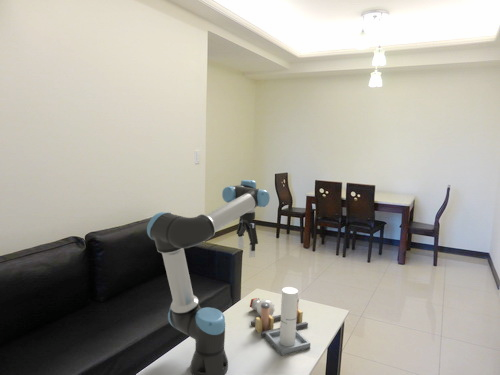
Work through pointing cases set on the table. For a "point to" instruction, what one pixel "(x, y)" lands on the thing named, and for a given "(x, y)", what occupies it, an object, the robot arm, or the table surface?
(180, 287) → the robot arm
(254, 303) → the potion bottle
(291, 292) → the cylindrical container
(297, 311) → the fuse
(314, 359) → the table surface
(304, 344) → the tray
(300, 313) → the fuse holder
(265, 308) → the cylinder
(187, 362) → the table surface
